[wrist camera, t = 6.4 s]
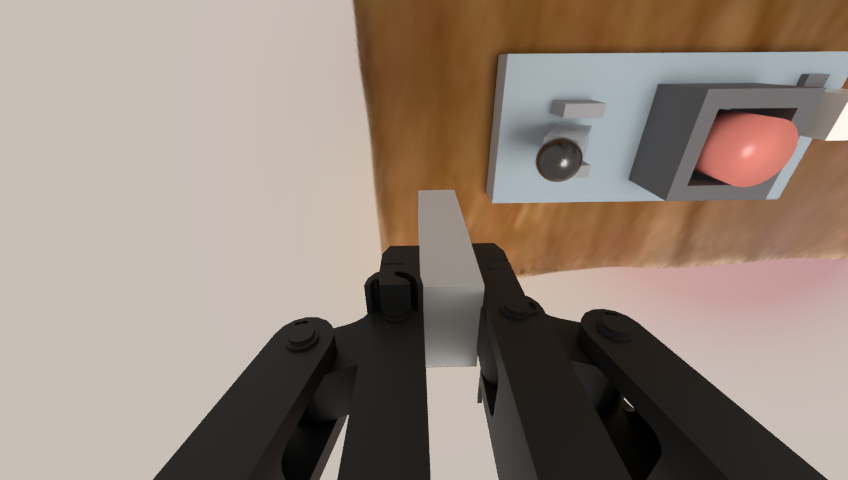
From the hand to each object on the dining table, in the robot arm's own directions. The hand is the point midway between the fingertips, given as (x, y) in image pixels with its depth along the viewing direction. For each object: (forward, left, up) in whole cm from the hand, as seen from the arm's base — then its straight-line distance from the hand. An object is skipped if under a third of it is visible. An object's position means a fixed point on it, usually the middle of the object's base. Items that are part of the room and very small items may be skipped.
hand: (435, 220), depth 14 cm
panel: (0, +20, -18) cm, 27 cm away
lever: (0, +12, -14) cm, 18 cm away
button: (0, +22, -14) cm, 26 cm away
